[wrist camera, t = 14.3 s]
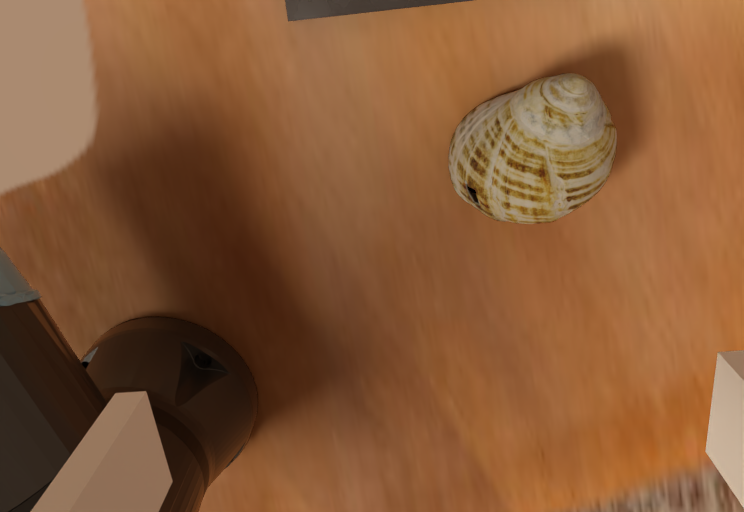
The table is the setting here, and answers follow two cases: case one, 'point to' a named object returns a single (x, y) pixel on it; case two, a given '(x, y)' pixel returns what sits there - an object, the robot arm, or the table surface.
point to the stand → (349, 7)
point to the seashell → (534, 150)
